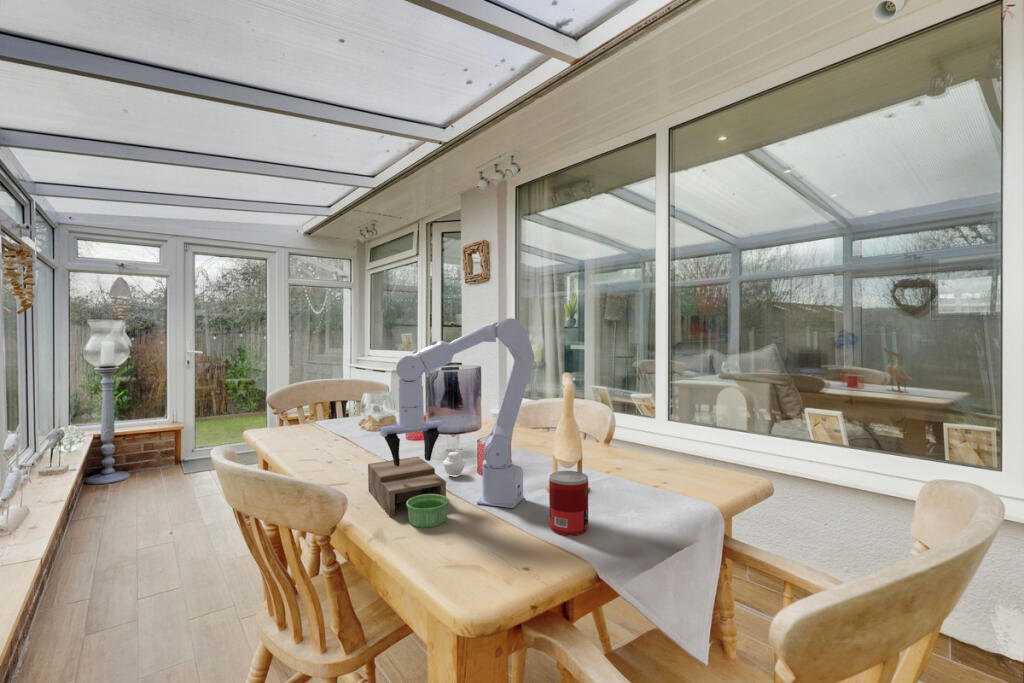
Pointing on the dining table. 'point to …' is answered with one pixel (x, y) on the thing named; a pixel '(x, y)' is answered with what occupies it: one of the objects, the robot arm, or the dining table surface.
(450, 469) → the white sugar bowl
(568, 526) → the canned food
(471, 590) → the dining table surface
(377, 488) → the walnut shelf
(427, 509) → the ramekin
